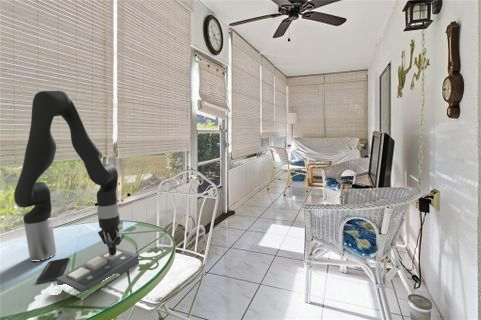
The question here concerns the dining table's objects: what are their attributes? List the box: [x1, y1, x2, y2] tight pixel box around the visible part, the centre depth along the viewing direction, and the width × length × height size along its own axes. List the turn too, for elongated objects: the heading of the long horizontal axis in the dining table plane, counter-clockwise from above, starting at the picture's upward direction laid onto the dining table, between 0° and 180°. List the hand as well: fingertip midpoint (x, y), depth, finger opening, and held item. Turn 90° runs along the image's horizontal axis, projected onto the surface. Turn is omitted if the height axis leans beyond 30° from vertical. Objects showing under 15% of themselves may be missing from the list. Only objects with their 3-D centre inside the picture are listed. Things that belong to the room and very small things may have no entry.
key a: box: [68, 267, 90, 281], centre depth 93 cm, size 5×5×2 cm
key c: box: [103, 251, 122, 261], centre depth 106 cm, size 5×5×2 cm
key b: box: [85, 255, 107, 270], centre depth 100 cm, size 5×5×2 cm
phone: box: [36, 257, 71, 284], centre depth 103 cm, size 8×1×15 cm
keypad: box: [56, 247, 140, 292], centre depth 99 cm, size 14×24×4 cm, turn 154°
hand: (112, 254), depth 106 cm, fingers closed
